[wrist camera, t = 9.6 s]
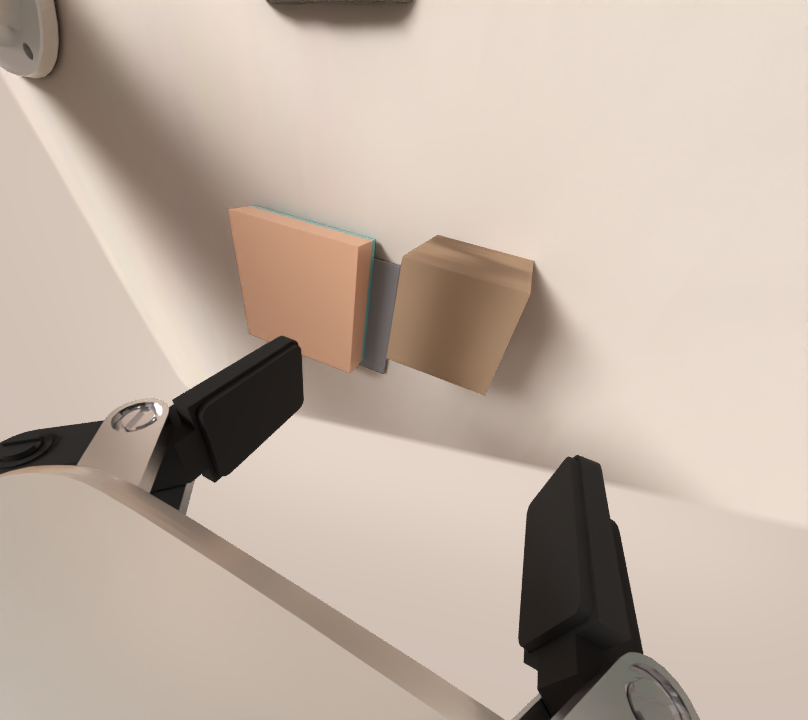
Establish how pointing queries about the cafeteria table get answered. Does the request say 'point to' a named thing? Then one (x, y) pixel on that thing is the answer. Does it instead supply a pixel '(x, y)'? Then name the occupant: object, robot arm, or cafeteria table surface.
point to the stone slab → (310, 0)
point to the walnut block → (457, 310)
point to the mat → (380, 314)
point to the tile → (304, 283)
